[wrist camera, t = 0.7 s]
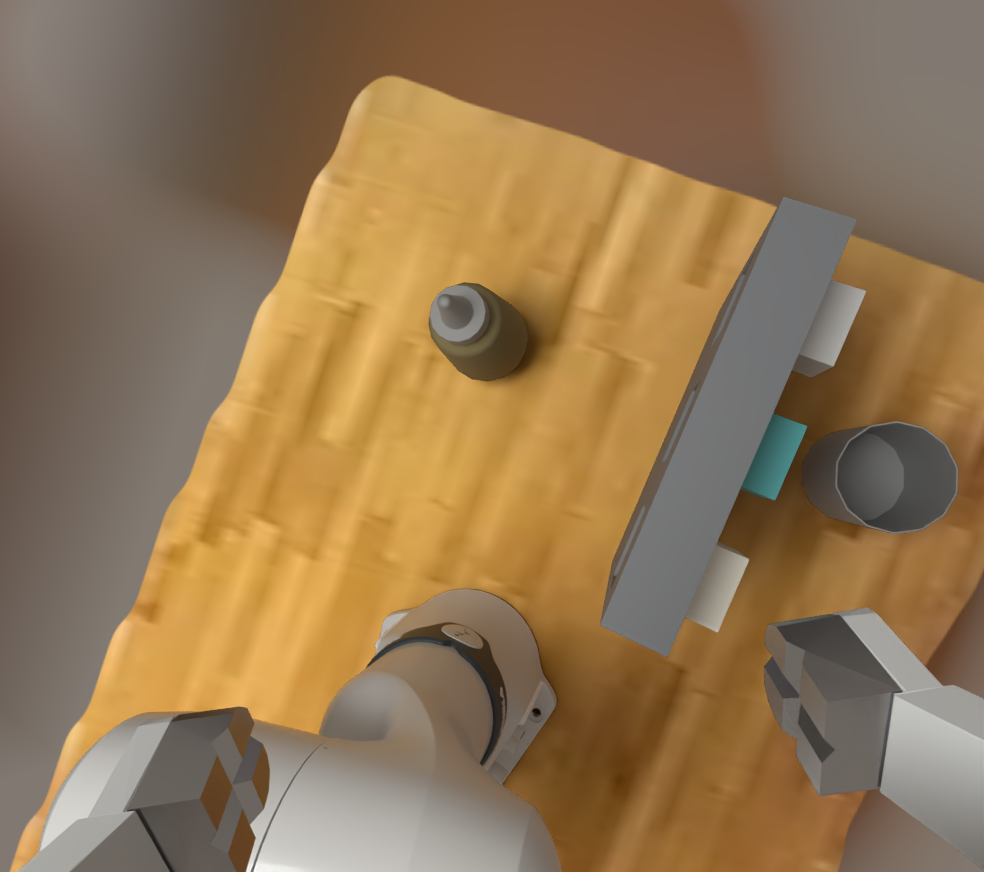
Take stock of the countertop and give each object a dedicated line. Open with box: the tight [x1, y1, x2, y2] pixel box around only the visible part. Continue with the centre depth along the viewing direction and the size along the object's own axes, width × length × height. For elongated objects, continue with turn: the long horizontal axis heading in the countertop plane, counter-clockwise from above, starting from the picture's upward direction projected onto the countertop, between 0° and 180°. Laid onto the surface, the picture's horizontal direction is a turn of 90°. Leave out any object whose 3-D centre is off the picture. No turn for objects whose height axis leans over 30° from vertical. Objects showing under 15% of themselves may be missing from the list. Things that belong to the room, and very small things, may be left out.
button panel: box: [600, 197, 857, 657], centre depth 49 cm, size 26×4×26 cm, turn 157°
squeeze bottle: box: [429, 282, 528, 381], centre depth 57 cm, size 8×8×18 cm
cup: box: [801, 421, 958, 534], centre depth 53 cm, size 8×8×10 cm
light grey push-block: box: [792, 280, 866, 378], centre depth 43 cm, size 5×6×5 cm
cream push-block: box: [685, 542, 750, 632], centre depth 44 cm, size 5×6×5 cm
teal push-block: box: [741, 413, 807, 500], centre depth 43 cm, size 5×6×5 cm
